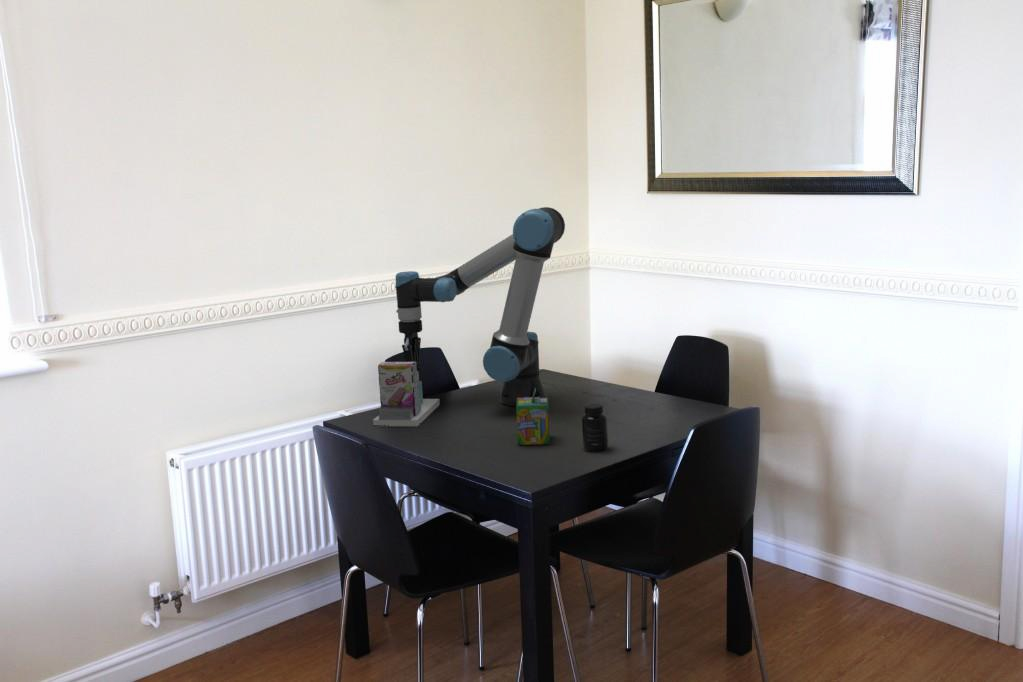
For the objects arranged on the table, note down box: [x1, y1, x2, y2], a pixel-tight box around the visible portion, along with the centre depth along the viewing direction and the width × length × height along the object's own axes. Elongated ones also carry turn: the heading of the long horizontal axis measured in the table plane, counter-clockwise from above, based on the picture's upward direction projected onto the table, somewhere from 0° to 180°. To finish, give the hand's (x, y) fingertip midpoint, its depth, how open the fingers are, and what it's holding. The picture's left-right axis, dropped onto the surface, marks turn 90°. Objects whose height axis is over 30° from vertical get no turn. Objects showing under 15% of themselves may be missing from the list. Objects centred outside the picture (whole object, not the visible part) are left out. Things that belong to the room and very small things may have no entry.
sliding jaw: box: [418, 380, 424, 411], centre depth 296 cm, size 12×10×7 cm
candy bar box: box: [377, 361, 419, 416], centre depth 287 cm, size 11×5×16 cm, turn 81°
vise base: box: [372, 398, 441, 427], centre depth 295 cm, size 26×14×6 cm, turn 169°
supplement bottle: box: [581, 403, 609, 453], centre depth 250 cm, size 7×7×12 cm
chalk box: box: [515, 388, 551, 446], centre depth 260 cm, size 9×9×15 cm
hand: (415, 391), depth 303 cm, fingers closed
